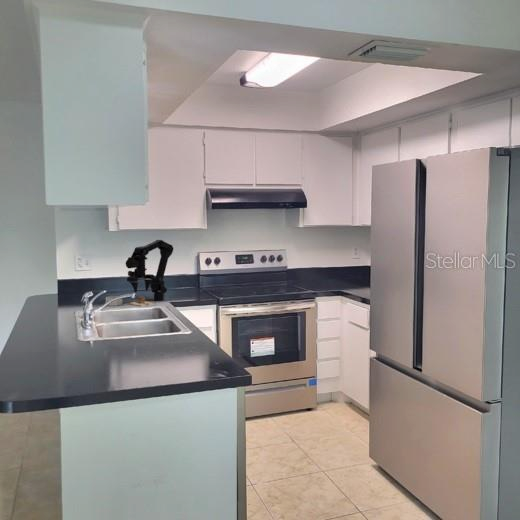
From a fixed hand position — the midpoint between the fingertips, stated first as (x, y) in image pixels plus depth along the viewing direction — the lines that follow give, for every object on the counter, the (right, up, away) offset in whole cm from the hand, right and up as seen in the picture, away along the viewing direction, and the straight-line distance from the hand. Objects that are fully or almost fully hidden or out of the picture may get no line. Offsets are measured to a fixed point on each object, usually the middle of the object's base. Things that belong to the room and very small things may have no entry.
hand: (141, 291), depth 329 cm
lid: (0, -8, +1) cm, 8 cm away
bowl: (-17, -9, 0) cm, 19 cm away
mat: (0, -9, +1) cm, 9 cm away
